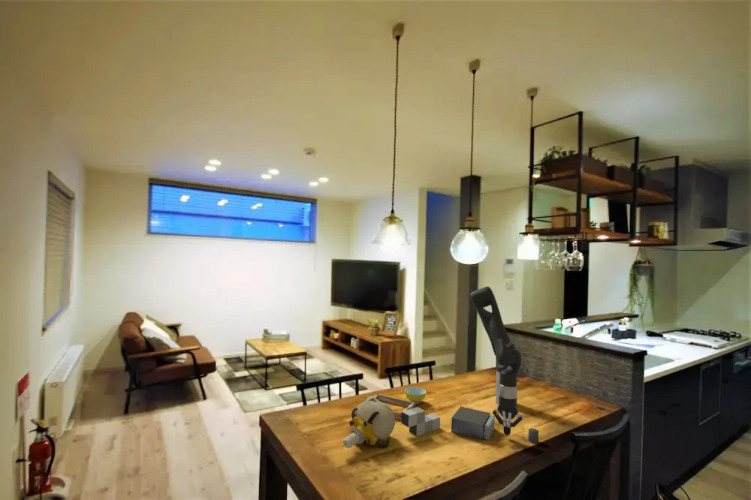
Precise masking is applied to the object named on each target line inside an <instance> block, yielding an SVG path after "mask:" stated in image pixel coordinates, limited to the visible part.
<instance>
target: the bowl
mask: <svg viewBox="0 0 751 500" xmlns="http://www.w3.org/2000/svg"><path fill="white" fill-rule="evenodd" d="M404 393H405V397H406V398H407V399H408V401H411V402H415V405H418V404H420V402H422V401H423V400H424V399H425V398H426V395H427V391H426V389H424V388H422V387H416V386H415V387H413V386H411V387H406V388H405V389H404Z"/></svg>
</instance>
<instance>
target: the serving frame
mask: <svg viewBox="0 0 751 500" xmlns="http://www.w3.org/2000/svg"><path fill="white" fill-rule="evenodd" d="M373 396H374V397H375V398H376V399H377V400H379V401H380V402H383V403H389V404H392V405H396V406H400V407H405V409H403V411H406V410H409V409H413V408H416V404H415V402H411V401H410V400H406V399H402V398H398V397H393V396H389V395H384V394H380V393H377V394H376V395H373ZM393 412H394V414H395V420H398V421H401V413H402V411H401V412H400V411H399V412H398V411H395V410H393Z"/></svg>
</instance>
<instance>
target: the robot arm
mask: <svg viewBox="0 0 751 500" xmlns="http://www.w3.org/2000/svg"><path fill="white" fill-rule="evenodd" d="M469 296H470V300H471V303H472V305H473V307H474V308H475V310H476V313H477V314H478V316H479V318H480V320H481V323H482V326H483V328H484V330H485V332H486V334H487V337H488V339H489V341H490V344H491V348H492V351H493V354H494V356H495V359H496V362H497V363H498V364H497V366H496V370H495V373H496V375H495V404H497V405H498V406H497V407H496V408H494V409H493V411H492V415H493V416H495V420H497V422H498V423H499V424H500V425H502V426H503V434H504V435H505V436H507V437H509V436H510V435H511V431H512V428H515V427H516V426H517V425H518V424H519V423H520V422H522V420H523V418H524V417H523V415H522V414H520V413H519V410H518V387H517V385H518V384H517V383H518V379H517V378H518V374H519V372H520V368H521V364H522V354H521V352H520V351H519V350H518V348H516V345H515V344H514V343H512V342H511V339H510V336H509V334H508V332H507V329H506V327H505V325H504V322H503V319H502V314H501V311H500V309H499V306H498V301H497V299H496V296H495V294H494V292H493V289H492V288H491V287H489V286H484V287H481V288H478V289H475V290H473V291H471V292H470V294H469ZM489 306H491V311H489V310H487V309H485V308H488V307H489ZM515 417H516V419H515ZM514 419H515V420H514ZM513 420H514V421H513ZM512 421H513V422H512Z"/></svg>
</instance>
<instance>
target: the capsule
mask: <svg viewBox="0 0 751 500" xmlns="http://www.w3.org/2000/svg"><path fill="white" fill-rule="evenodd" d="M527 433H528V437H527V438H528V439H527V441H528V442H529V443H531V442H532V444H538V443H539V436H540V435H539V433H540V432H539V430H538V429H535V428H528V432H527Z"/></svg>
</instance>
